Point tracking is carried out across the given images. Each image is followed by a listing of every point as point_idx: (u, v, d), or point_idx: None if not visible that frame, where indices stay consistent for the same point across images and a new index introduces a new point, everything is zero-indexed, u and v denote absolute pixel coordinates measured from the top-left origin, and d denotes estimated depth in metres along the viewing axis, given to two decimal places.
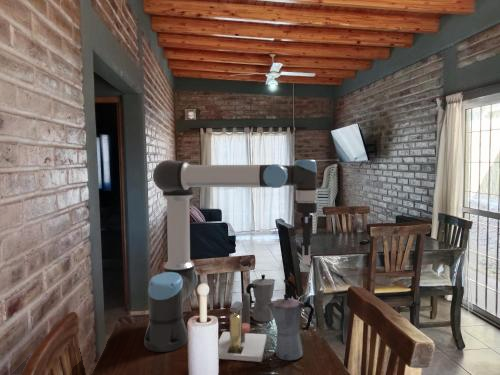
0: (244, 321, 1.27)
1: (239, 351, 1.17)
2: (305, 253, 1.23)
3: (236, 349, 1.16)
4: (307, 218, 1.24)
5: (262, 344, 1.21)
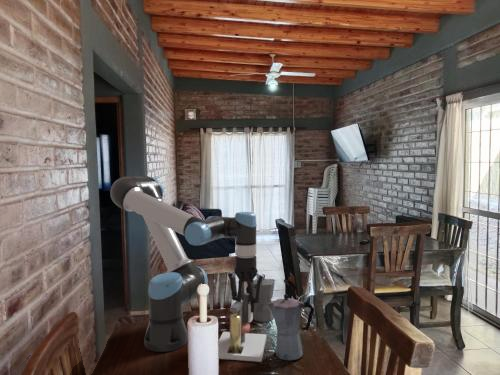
0: (244, 321, 1.27)
1: (239, 351, 1.17)
2: (254, 310, 1.27)
3: (236, 349, 1.16)
4: (263, 277, 1.26)
5: (262, 344, 1.21)
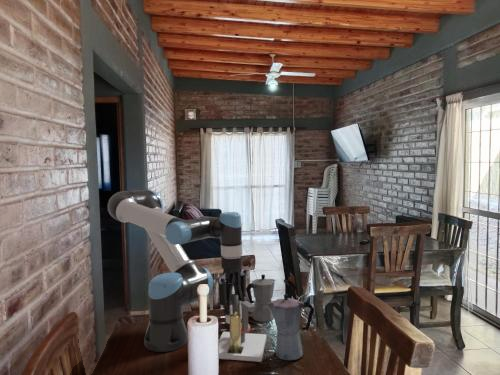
0: None
1: (239, 351, 1.17)
2: None
3: (236, 349, 1.16)
4: None
5: (262, 344, 1.21)
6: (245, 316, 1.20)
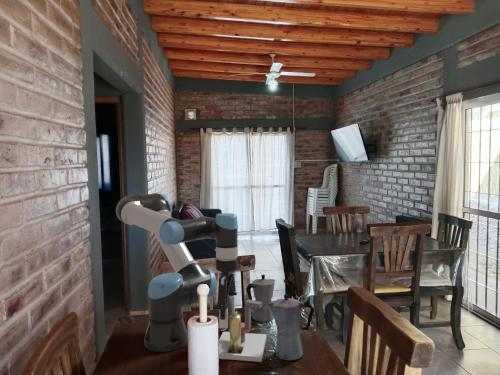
0: None
1: (239, 351, 1.17)
2: None
3: (236, 349, 1.16)
4: None
5: (262, 344, 1.21)
6: (249, 314, 1.21)
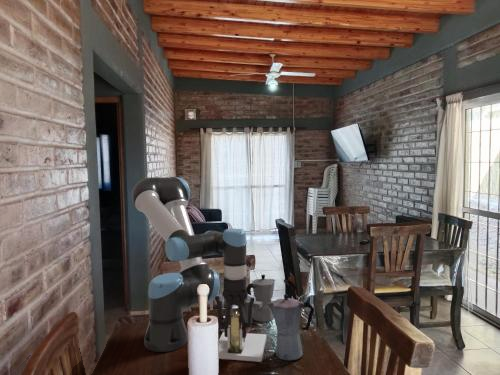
0: None
1: (239, 351, 1.17)
2: (245, 335, 1.17)
3: (236, 349, 1.16)
4: (254, 298, 1.16)
5: (262, 344, 1.21)
6: None
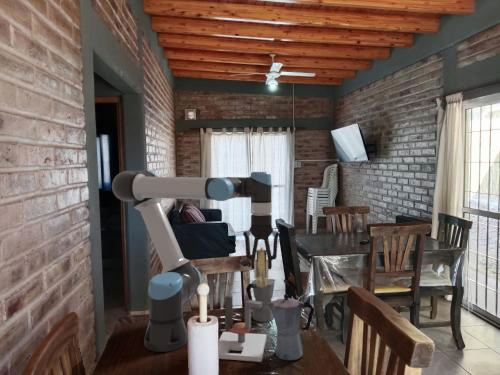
0: (231, 324, 1.25)
1: (265, 282, 1.29)
2: (271, 267, 1.29)
3: (262, 280, 1.29)
4: (279, 233, 1.29)
5: (262, 344, 1.21)
6: (249, 314, 1.21)
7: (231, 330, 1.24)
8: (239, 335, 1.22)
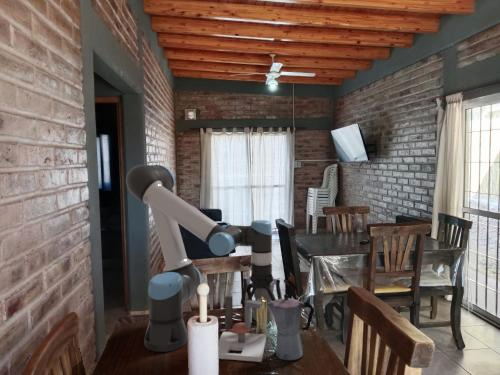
0: (231, 324, 1.25)
1: (265, 332, 1.30)
2: None
3: (262, 330, 1.30)
4: None
5: (262, 344, 1.21)
6: (249, 314, 1.21)
7: (231, 330, 1.24)
8: (239, 335, 1.22)
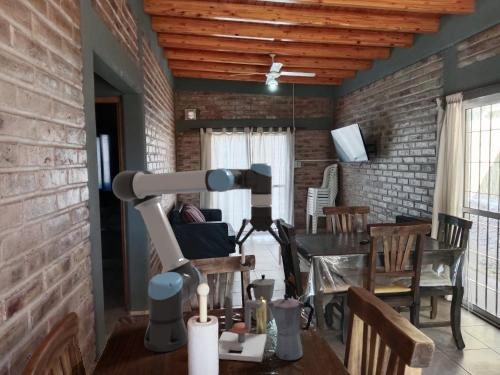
0: (231, 324, 1.25)
1: (265, 332, 1.30)
2: None
3: (262, 331, 1.30)
4: (279, 220, 1.29)
5: (262, 344, 1.21)
6: (249, 314, 1.21)
7: (231, 330, 1.24)
8: (239, 335, 1.22)
